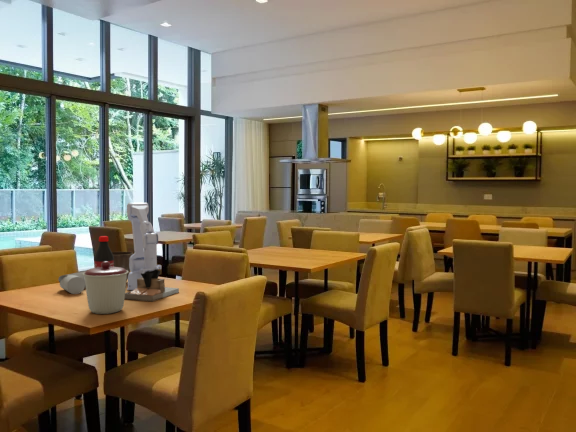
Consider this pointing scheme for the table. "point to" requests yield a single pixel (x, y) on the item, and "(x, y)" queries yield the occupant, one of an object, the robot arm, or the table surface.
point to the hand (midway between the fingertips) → (150, 286)
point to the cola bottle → (103, 253)
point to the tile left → (139, 291)
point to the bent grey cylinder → (73, 282)
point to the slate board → (170, 291)
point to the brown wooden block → (152, 284)
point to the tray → (143, 297)
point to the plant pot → (122, 260)
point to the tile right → (152, 292)
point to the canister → (105, 288)
